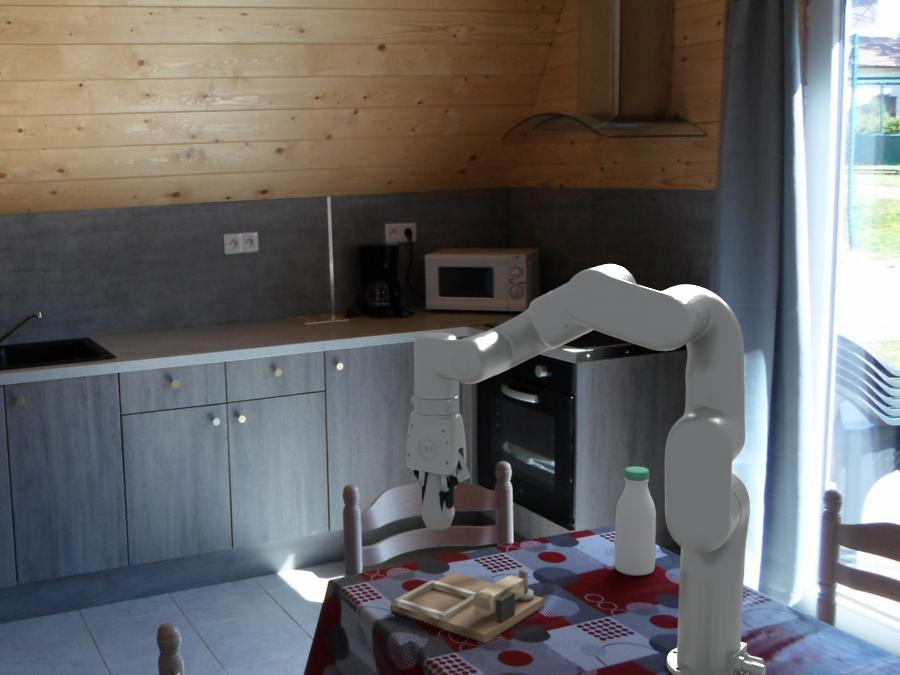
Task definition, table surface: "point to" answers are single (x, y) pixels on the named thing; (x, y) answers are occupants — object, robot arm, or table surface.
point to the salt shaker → (435, 505)
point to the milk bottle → (635, 525)
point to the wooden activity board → (466, 606)
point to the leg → (497, 594)
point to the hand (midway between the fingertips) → (437, 508)
